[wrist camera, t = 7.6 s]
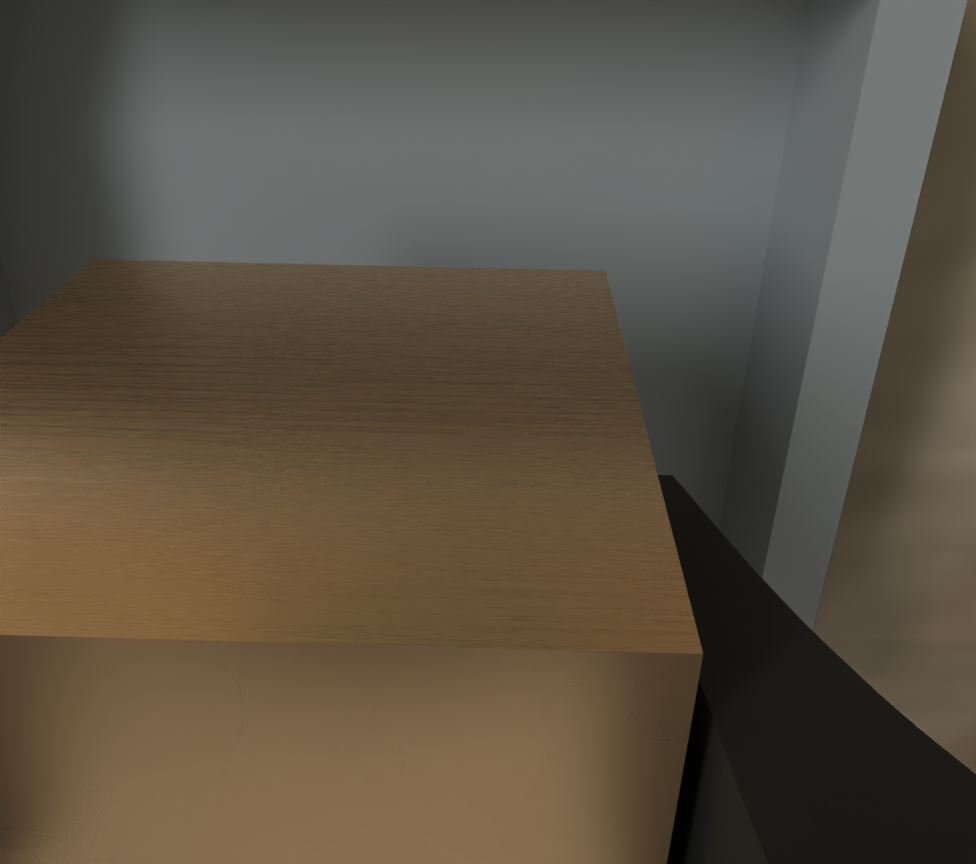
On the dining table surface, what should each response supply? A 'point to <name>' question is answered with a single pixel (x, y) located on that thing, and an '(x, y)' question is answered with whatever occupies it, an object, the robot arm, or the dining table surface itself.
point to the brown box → (334, 572)
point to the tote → (524, 188)
